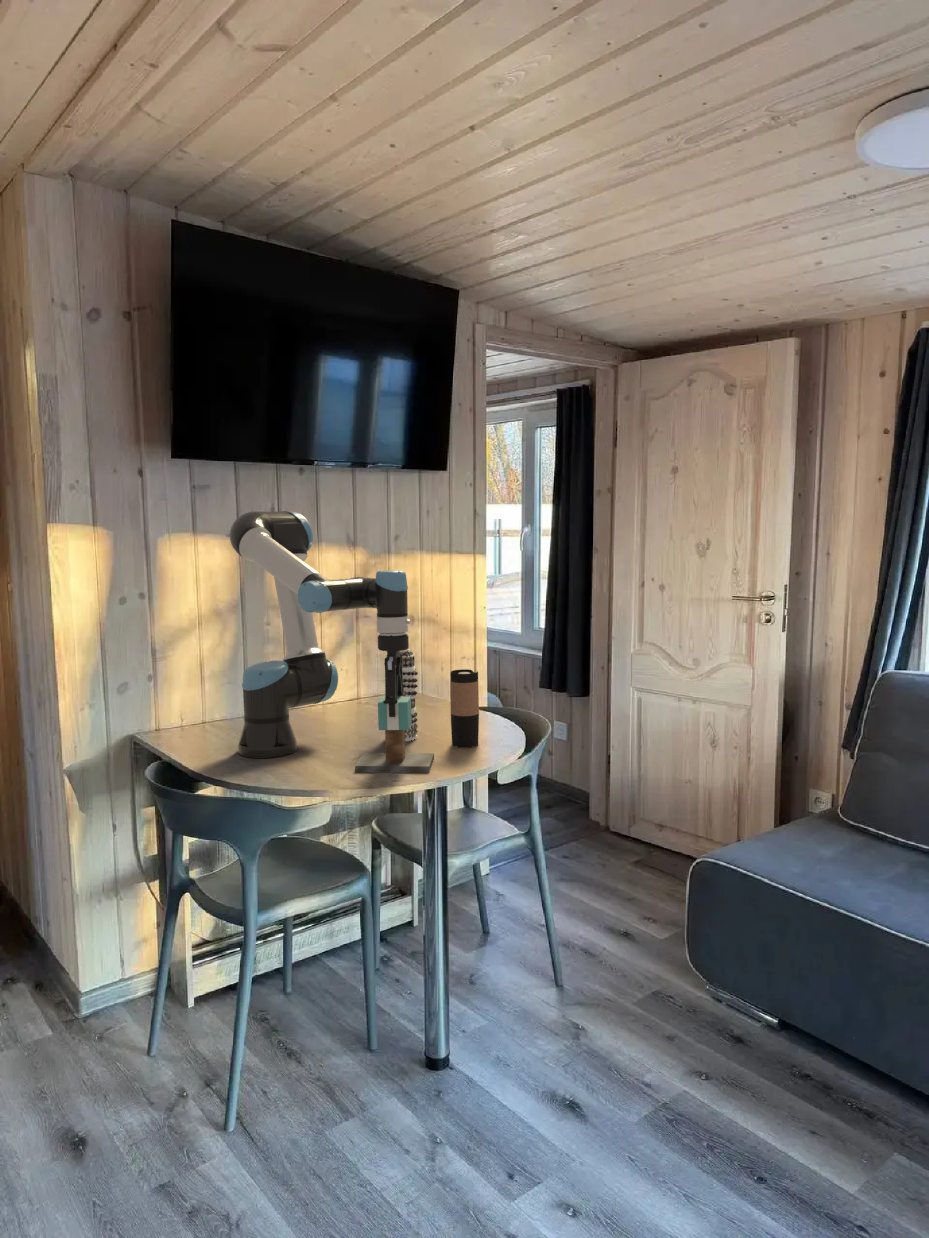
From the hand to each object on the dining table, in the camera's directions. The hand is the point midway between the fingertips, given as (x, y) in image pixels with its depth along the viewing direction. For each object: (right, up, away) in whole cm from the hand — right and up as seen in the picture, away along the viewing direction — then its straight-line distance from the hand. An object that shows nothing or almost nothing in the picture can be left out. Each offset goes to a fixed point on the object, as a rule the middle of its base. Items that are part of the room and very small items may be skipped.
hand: (395, 725), depth 212 cm
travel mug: (+17, -8, +21) cm, 28 cm away
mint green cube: (0, 0, 0) cm, 0 cm away
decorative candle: (0, -7, +29) cm, 30 cm away
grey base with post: (0, -10, +1) cm, 10 cm away
